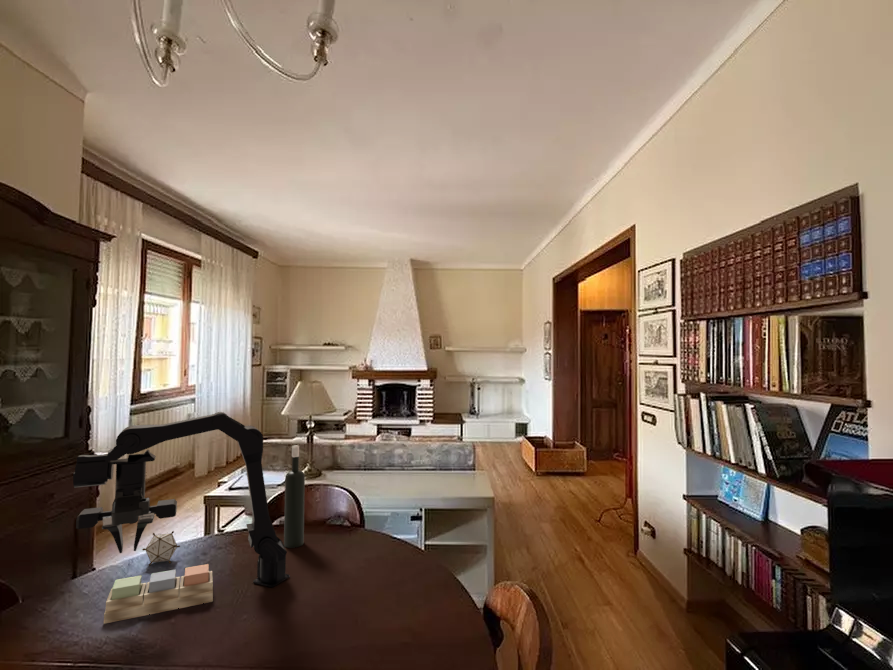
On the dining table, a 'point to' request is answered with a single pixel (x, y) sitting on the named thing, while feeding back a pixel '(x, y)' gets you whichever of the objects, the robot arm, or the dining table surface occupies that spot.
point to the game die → (161, 548)
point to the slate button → (162, 581)
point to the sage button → (126, 587)
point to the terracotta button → (196, 575)
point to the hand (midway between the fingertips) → (128, 551)
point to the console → (158, 600)
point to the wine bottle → (294, 503)
